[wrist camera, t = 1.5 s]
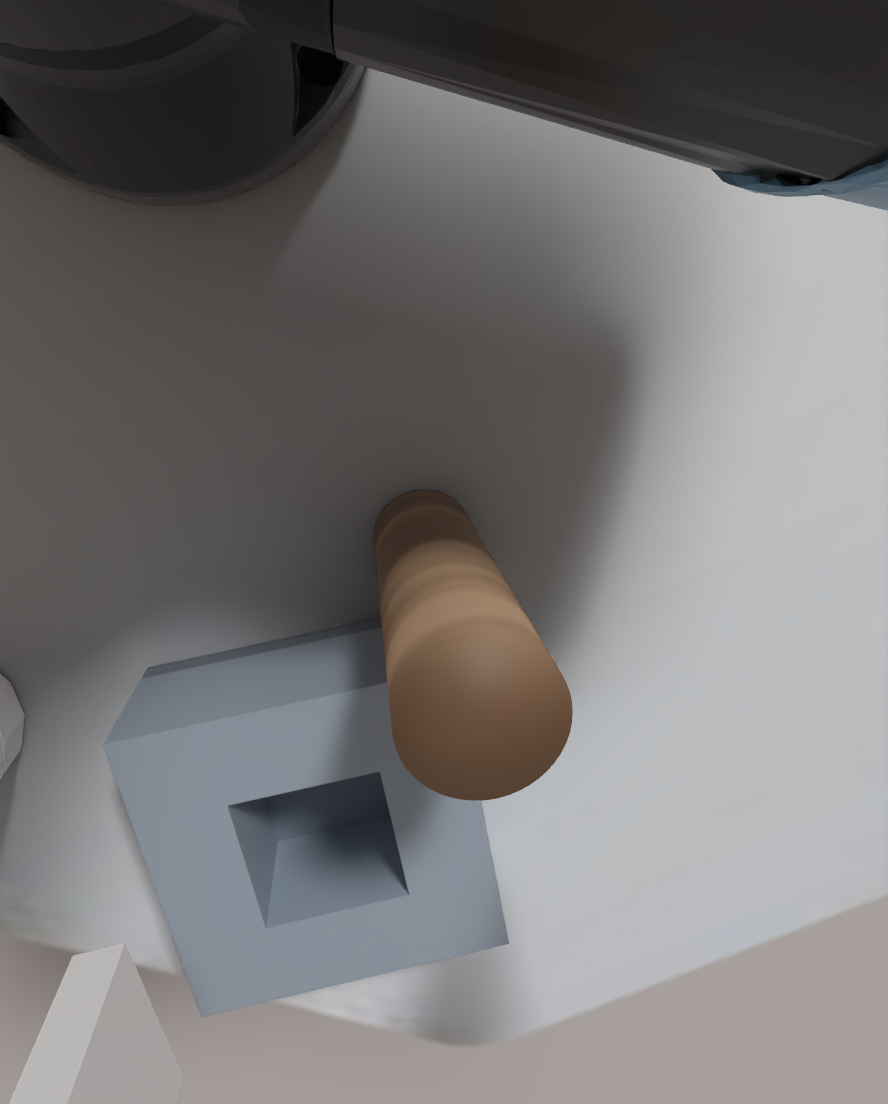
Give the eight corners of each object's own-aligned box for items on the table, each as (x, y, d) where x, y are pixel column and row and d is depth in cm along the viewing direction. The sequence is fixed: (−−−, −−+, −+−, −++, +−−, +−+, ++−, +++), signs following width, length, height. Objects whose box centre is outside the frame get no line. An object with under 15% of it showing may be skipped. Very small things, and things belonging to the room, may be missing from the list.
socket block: (147, 667, 31) (102, 744, 26) (436, 606, 32) (455, 668, 26) (225, 903, 35) (201, 1017, 29) (483, 843, 36) (508, 943, 30)
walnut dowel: (363, 500, 30) (374, 658, 16) (462, 480, 31) (559, 618, 16) (384, 593, 32) (411, 818, 17) (479, 574, 32) (583, 778, 18)
